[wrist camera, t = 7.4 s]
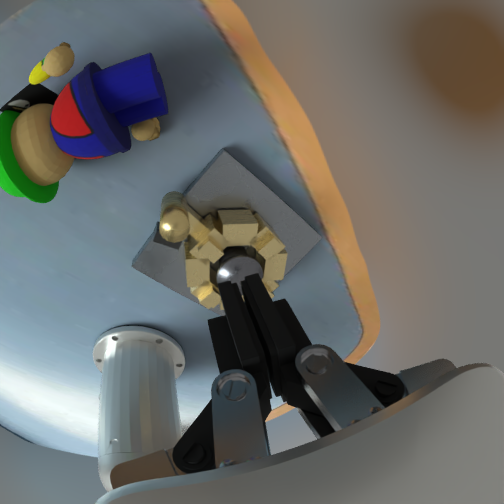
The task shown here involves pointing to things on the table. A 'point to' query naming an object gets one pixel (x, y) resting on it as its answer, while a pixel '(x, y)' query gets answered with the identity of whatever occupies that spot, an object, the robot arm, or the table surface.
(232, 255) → the base plate
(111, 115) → the toy
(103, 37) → the table surface
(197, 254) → the ring nut
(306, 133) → the table surface
